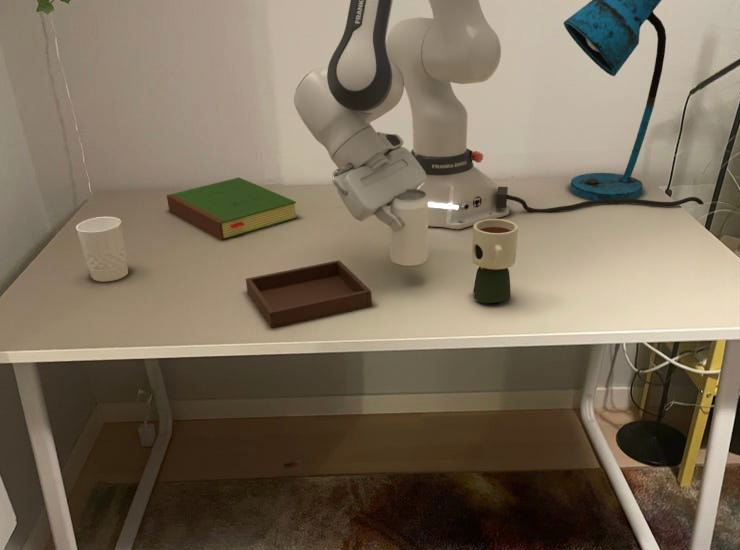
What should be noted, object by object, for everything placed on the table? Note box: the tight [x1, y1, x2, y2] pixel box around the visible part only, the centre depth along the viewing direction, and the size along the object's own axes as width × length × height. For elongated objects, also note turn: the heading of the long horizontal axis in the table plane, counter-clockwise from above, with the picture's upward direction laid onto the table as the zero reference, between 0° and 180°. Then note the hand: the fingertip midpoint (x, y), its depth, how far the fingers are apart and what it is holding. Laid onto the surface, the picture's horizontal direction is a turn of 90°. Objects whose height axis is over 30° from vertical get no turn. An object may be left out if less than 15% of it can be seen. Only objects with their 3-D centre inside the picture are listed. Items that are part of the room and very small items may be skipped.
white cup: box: [75, 216, 129, 283], centre depth 138 cm, size 8×8×10 cm
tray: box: [245, 260, 373, 329], centre depth 128 cm, size 18×15×3 cm
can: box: [389, 189, 429, 268], centre depth 129 cm, size 6×6×12 cm
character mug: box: [471, 218, 519, 304], centre depth 123 cm, size 11×7×13 cm, turn 179°
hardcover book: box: [166, 177, 298, 241], centre depth 166 cm, size 25×19×4 cm
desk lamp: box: [563, 0, 667, 201], centre depth 161 cm, size 16×22×45 cm
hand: (412, 221), depth 128 cm, fingers closed on can, 6 cm apart
